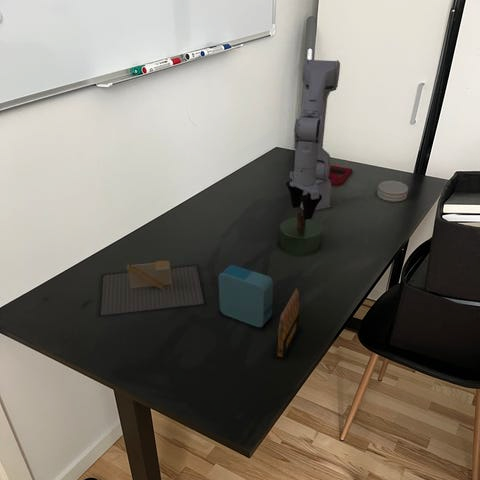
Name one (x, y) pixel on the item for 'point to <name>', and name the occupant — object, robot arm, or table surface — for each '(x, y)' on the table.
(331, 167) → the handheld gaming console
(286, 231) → the lid
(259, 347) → the table surface
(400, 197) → the coaster
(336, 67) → the robot arm
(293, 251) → the bowl
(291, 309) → the brown wooden panel
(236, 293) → the data package
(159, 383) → the table surface
